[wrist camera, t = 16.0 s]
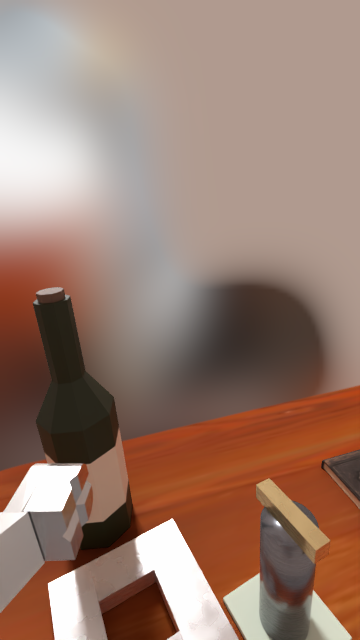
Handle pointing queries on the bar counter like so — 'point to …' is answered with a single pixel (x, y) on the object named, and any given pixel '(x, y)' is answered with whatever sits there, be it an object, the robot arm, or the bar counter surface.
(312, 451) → the bar counter surface
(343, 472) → the hardcover book
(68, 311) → the wine bottle
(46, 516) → the robot arm
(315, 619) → the coaster
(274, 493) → the t key
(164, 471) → the bar counter surface
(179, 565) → the plate
